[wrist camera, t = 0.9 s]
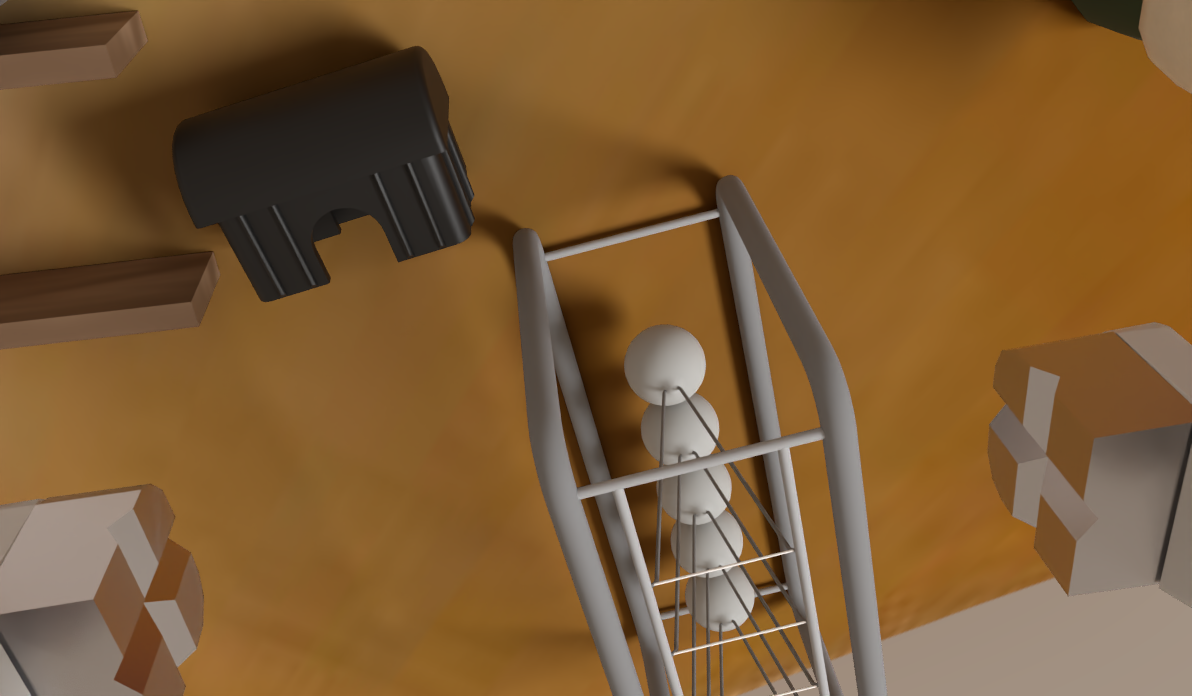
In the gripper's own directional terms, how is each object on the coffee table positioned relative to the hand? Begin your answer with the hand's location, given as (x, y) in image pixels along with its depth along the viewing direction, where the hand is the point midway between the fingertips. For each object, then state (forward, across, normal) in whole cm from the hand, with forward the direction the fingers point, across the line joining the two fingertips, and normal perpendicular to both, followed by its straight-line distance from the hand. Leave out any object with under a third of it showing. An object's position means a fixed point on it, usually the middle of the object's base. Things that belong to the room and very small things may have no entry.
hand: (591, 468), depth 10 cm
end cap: (+36, +8, +8) cm, 38 cm away
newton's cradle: (+37, -5, +27) cm, 46 cm away
